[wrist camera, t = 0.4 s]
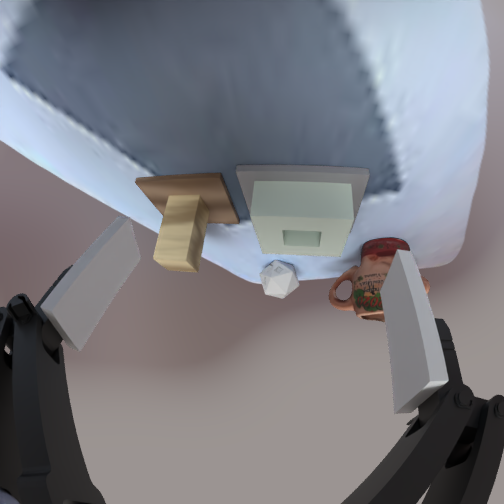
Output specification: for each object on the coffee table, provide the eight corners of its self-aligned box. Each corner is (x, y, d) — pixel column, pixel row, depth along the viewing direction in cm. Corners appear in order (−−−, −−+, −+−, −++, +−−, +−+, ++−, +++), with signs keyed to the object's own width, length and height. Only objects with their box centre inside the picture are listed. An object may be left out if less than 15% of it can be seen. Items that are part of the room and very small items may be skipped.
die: (293, 253, 60) (263, 284, 58) (312, 280, 64) (285, 311, 61) (274, 249, 68) (246, 277, 65) (292, 275, 71) (266, 302, 68)
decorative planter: (341, 263, 61) (339, 325, 56) (319, 243, 52) (317, 316, 47) (426, 252, 49) (431, 319, 45) (423, 227, 41) (430, 308, 36)
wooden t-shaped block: (137, 176, 37) (114, 246, 34) (221, 171, 35) (205, 250, 31) (170, 217, 49) (157, 275, 45) (239, 218, 47) (230, 282, 43)
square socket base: (236, 165, 33) (229, 206, 31) (368, 168, 30) (374, 212, 28) (255, 224, 48) (252, 257, 46) (349, 228, 45) (350, 261, 43)
